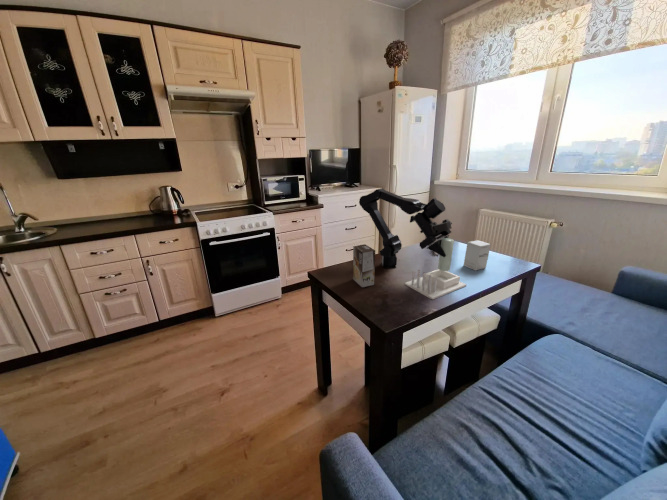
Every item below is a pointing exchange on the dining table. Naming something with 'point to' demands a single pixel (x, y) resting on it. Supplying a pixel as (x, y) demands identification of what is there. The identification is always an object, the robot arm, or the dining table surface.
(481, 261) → the supplement box
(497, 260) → the dining table surface
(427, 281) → the dish drying rack
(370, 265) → the coffee box
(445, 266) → the sage green domed cylinder
